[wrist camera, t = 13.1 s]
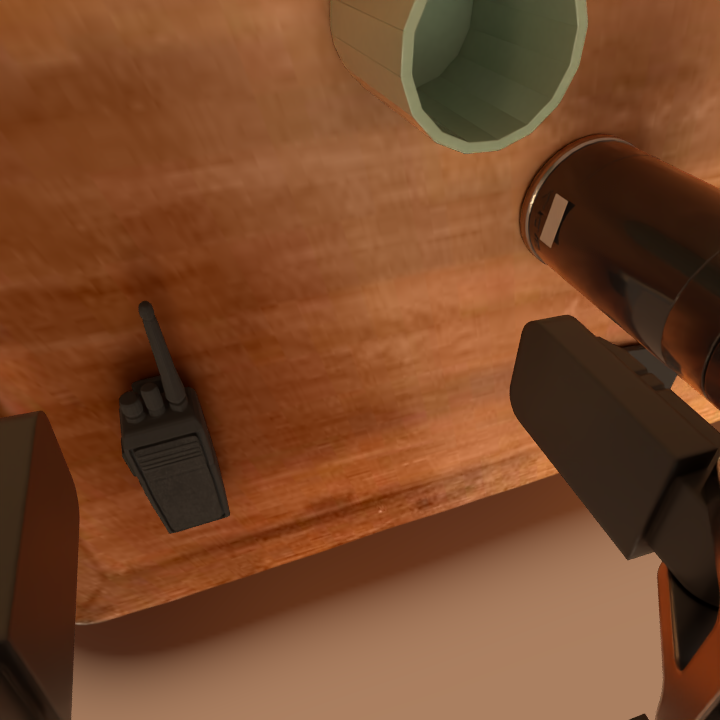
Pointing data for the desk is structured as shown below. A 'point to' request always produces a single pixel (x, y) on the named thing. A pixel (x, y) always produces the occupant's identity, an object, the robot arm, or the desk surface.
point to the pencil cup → (463, 62)
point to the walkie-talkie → (170, 442)
